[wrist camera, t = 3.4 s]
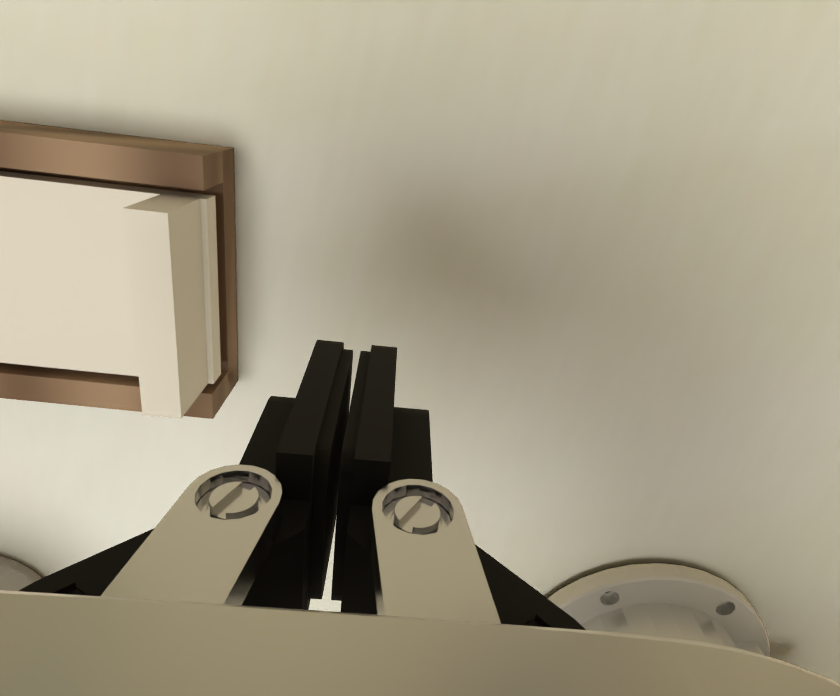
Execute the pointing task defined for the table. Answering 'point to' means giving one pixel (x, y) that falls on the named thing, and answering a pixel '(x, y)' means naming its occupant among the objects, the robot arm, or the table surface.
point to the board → (141, 168)
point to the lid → (111, 284)
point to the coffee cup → (15, 575)
